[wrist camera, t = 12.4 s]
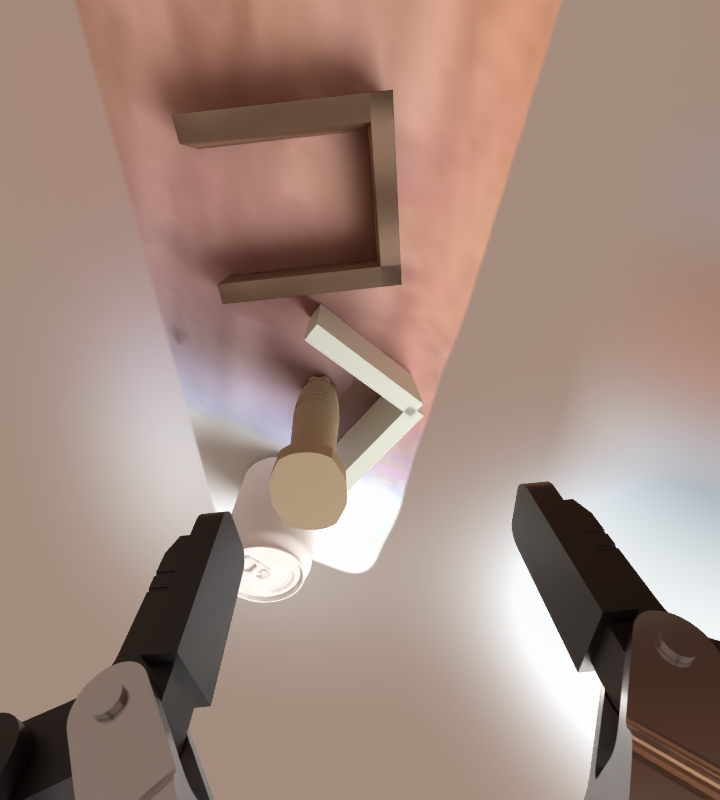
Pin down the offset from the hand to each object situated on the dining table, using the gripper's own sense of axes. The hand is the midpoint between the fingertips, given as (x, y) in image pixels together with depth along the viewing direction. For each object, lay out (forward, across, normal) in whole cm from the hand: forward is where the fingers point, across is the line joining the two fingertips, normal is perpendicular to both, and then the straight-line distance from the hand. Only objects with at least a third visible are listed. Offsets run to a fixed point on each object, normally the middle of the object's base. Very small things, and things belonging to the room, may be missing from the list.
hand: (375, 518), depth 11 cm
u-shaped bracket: (+26, +3, -7) cm, 27 cm away
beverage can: (+25, +10, +20) cm, 34 cm away
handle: (+26, +4, +9) cm, 28 cm away
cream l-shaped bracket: (+25, -1, +9) cm, 27 cm away
